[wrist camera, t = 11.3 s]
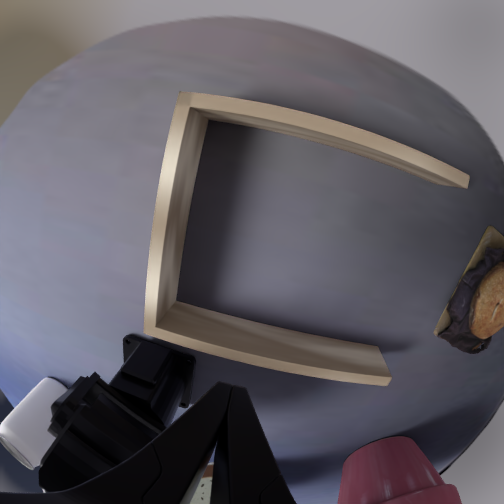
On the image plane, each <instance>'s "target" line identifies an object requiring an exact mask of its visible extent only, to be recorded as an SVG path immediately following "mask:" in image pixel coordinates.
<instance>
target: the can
mask: <svg viewBox="0 0 504 504" xmlns="http://www.w3.org/2000/svg"><path fill="white" fill-rule="evenodd" d="M67 390H69V389H68V388H67V387H66V386H64V385H63V384H62V383H61V382H59V381H57V380H55V379H53V378H44V379H43V380H42V381H41V382H40V383H39V384H38V385H37V386H36V387H35V388H34V389H33V390H32V391H31V392H30V393H29V394H28V395H27V396H26V397H25V398H24V399H23V400H22V401H21V402H20V403H19V404H18V405H17V406H16V407H15V408H14V410H13V411H12V412H11V413H10V414H9V415H8V416H7V417H6V418H5V419H4V421H3V422H2V423H1V425H0V442H1V443H2V444H3V446H4V447H5V448H6V449H7V450H8V451H9V452H10V453H11V454H12V455H13V456H14V457H15V458H16V459H17V460H19V461H20V462H21V463H22V464H23V465H25V466H26V467H28V468H29V469H31V470H34V467H36V466H39V465H40V461H41V459H42V457H43V456H44V455H45V453H46V452H47V450H48V449H49V447H50V446H51V445H52V443H53V442H54V440H55V439H56V438H55V437H54V436H52V435H51V434H50V433H49V432H48V431H47V430H48V428H49V426H50V425H51V422H50V420H51V418H52V413H51V405H52V404H53V403H54V401H56V400H57V399H58V398H59V397H60V396H61V395H63V394H64V393H65V392H66V391H67Z"/></svg>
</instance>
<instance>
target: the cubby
mask: <svg viewBox="0 0 504 504" xmlns="http://www.w3.org/2000/svg"><path fill="white" fill-rule="evenodd" d="M208 120H215V121H221V122H227V123H233V124H238V125H244V126H249V127H254V128H259V129H264V130H269V131H273V132H278V133H282V134H286V135H290V136H294V137H298V138H302V139H306V140H310V141H314V142H317V143H321V144H325V145H328V146H332V147H335V148H338V149H342V150H345V151H348V152H351V153H354V154H358V155H361V156H364V157H367V158H370V159H372V160H375V161H378V162H381V163H384V164H387V165H389V166H392V167H395V168H397V169H400V170H403V171H405V172H408V173H410V174H413V175H415V176H418V177H420V178H422V179H425V180H427V181H430V182H432V183H434V184H438V185H445V186H452V187H459V188H465V189H467V188H468V183H469V178H470V176H469V175H467V174H465V173H463V172H462V171H460V170H458V169H456V168H454V167H452V166H450V165H448V164H446V163H444V162H442V161H439V160H437V159H435V158H433V157H431V156H429V155H426V154H424V153H422V152H420V151H417V150H415V149H413V148H410V147H408V146H406V145H403V144H401V143H398V142H396V141H393V140H390V139H388V138H385V137H383V136H380V135H377V134H374V133H371V132H369V131H366V130H363V129H360V128H357V127H354V126H351V125H348V124H344V123H341V122H338V121H335V120H331V119H328V118H324V117H321V116H317V115H313V114H309V113H305V112H301V111H297V110H293V109H289V108H285V107H280V106H275V105H271V104H266V103H261V102H255V101H250V100H244V99H238V98H232V97H225V96H218V95H210V94H201V93H192V92H181V91H179V95H178V98H177V102H176V106H175V110H174V114H173V118H172V122H171V127H170V131H169V136H168V140H167V145H166V150H165V155H164V160H163V165H162V170H161V175H160V181H159V187H158V193H157V199H156V205H155V212H154V219H153V227H152V234H151V243H150V252H149V261H148V272H147V283H146V297H145V314H144V334H147V335H150V336H153V337H156V338H159V339H162V340H165V341H168V342H171V343H174V344H178V345H181V346H184V347H187V348H191V349H194V350H198V351H201V352H205V353H208V354H212V355H215V356H219V357H223V358H227V359H231V360H235V361H239V362H243V363H247V364H251V365H256V366H260V367H265V368H269V369H274V370H279V371H284V372H289V373H294V374H300V375H305V376H311V377H317V378H324V379H330V380H337V381H345V382H352V383H361V384H370V385H380V386H388V384H389V382H390V381H391V379H392V376H391V374H390V372H389V369H388V367H387V365H386V363H385V361H384V359H383V356H382V354H381V352H380V350H379V348H378V346H373V345H367V344H361V343H355V342H349V341H344V340H338V339H333V338H328V337H322V336H317V335H312V334H308V333H303V332H298V331H293V330H289V329H284V328H280V327H275V326H271V325H267V324H262V323H258V322H254V321H250V320H246V319H242V318H238V317H234V316H230V315H226V314H222V313H219V312H215V311H211V310H207V309H204V308H200V307H197V306H193V305H190V304H186V303H183V302H179V301H176V297H177V289H178V282H179V274H180V267H181V260H182V253H183V247H184V241H185V234H186V228H187V222H188V217H189V211H190V206H191V200H192V195H193V190H194V184H195V179H196V174H197V169H198V165H199V160H200V155H201V151H202V146H203V142H204V137H205V133H206V129H207V124H208Z"/></svg>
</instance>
